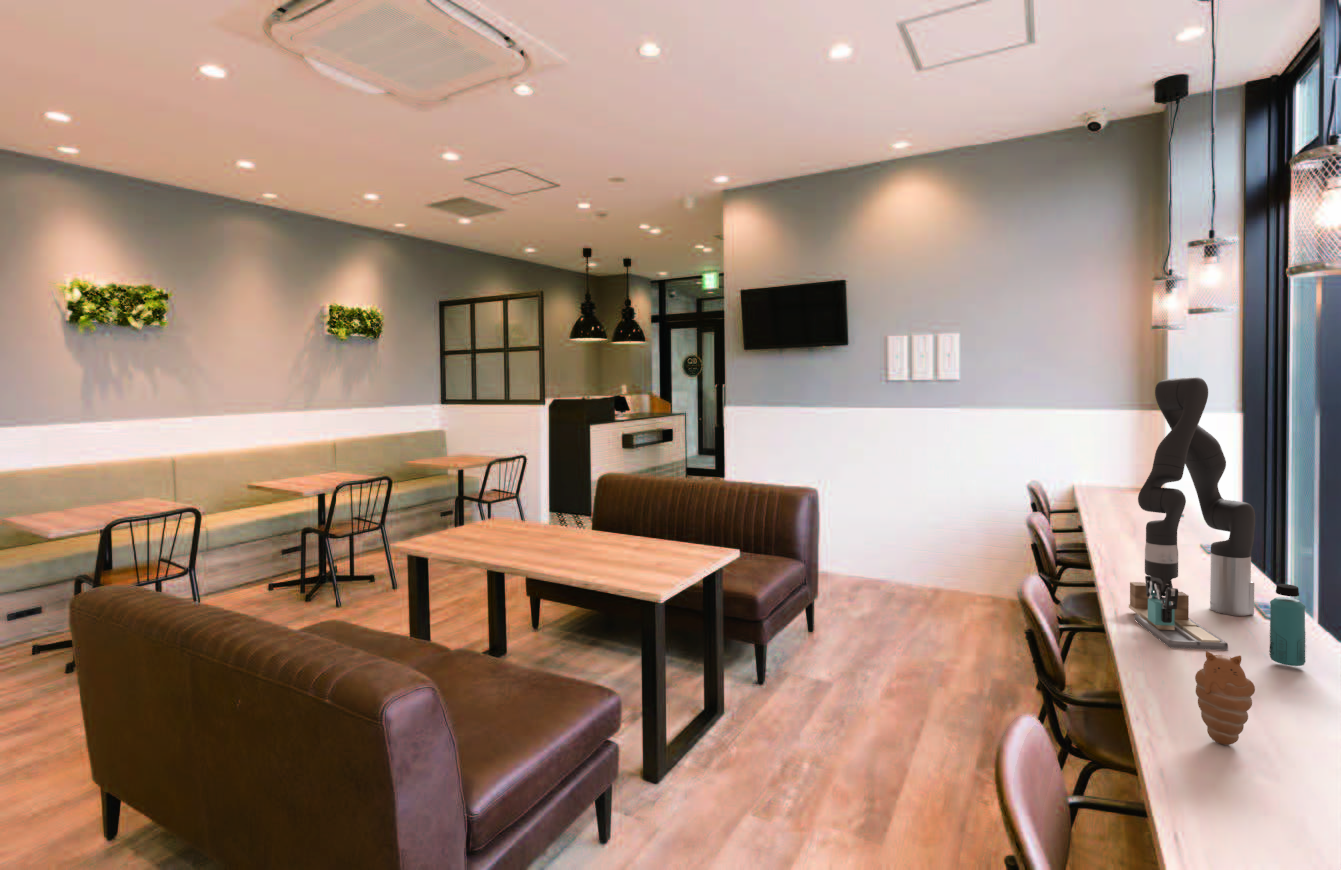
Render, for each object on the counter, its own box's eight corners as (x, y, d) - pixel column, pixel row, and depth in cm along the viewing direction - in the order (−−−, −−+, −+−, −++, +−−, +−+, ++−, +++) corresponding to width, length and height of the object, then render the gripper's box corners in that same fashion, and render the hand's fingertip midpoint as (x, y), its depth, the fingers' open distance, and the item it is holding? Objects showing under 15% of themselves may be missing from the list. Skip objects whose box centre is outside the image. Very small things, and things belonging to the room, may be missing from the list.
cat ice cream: (1197, 748, 128) (1197, 656, 127) (1191, 729, 135) (1191, 642, 133) (1257, 759, 123) (1258, 664, 122) (1248, 739, 130) (1249, 649, 129)
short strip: (1181, 618, 191) (1182, 591, 191) (1196, 628, 184) (1196, 600, 183) (1165, 618, 192) (1165, 590, 192) (1179, 627, 185) (1179, 599, 184)
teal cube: (1166, 619, 188) (1166, 599, 188) (1174, 625, 184) (1174, 604, 183) (1147, 619, 189) (1147, 598, 189) (1155, 624, 185) (1155, 603, 185)
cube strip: (1143, 608, 201) (1143, 582, 201) (1174, 630, 183) (1174, 601, 183) (1128, 607, 202) (1128, 581, 202) (1157, 629, 184) (1158, 601, 184)
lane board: (1185, 622, 192) (1185, 614, 192) (1227, 650, 172) (1227, 641, 172) (1134, 620, 195) (1134, 612, 195) (1169, 647, 175) (1169, 639, 175)
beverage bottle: (1312, 673, 157) (1314, 589, 156) (1280, 672, 158) (1281, 589, 157) (1293, 662, 163) (1294, 581, 162) (1261, 661, 165) (1262, 581, 163)
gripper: (1190, 565, 178) (1189, 628, 179) (1164, 552, 191) (1164, 610, 192) (1158, 565, 179) (1157, 626, 180) (1134, 552, 193) (1134, 609, 194)
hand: (1161, 618), depth 186 cm, fingers open, 5 cm apart
